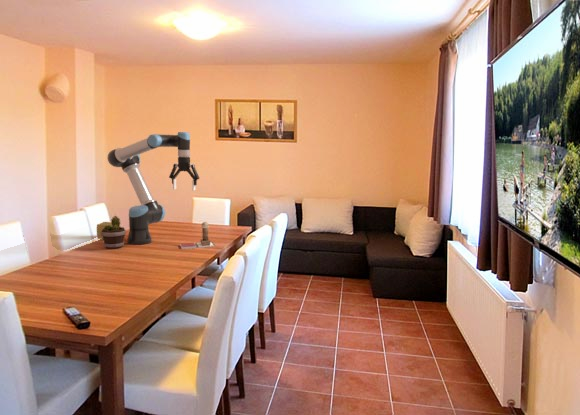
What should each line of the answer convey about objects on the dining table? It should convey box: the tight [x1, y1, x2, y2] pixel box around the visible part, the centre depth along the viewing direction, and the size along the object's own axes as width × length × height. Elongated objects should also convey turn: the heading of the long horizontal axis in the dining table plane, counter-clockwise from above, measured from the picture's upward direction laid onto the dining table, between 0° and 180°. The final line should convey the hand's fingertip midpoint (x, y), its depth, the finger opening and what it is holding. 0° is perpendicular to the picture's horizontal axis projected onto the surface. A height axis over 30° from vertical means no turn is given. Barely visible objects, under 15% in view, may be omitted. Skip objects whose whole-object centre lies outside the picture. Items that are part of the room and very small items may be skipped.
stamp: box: [200, 221, 211, 246], centre depth 282 cm, size 7×5×15 cm
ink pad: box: [179, 242, 197, 250], centre depth 278 cm, size 9×9×2 cm
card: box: [194, 241, 216, 248], centre depth 283 cm, size 11×11×1 cm
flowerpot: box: [100, 214, 127, 250], centre depth 272 cm, size 14×15×20 cm
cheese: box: [96, 221, 113, 240], centre depth 299 cm, size 10×11×10 cm
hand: (184, 189), depth 285 cm, fingers open, 13 cm apart
